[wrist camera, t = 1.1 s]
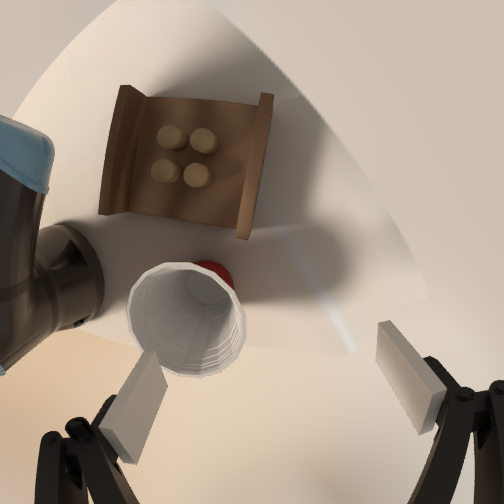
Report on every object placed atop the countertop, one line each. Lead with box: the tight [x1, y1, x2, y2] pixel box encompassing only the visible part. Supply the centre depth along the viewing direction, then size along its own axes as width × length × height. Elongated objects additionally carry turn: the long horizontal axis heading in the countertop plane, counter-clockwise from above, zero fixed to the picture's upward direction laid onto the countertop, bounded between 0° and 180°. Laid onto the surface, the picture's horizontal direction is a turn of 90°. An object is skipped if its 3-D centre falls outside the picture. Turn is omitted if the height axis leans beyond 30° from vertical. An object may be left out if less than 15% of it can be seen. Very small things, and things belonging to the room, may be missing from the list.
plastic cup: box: [126, 261, 246, 378], centre depth 28 cm, size 11×11×12 cm
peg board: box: [98, 85, 274, 240], centre depth 28 cm, size 16×14×6 cm
